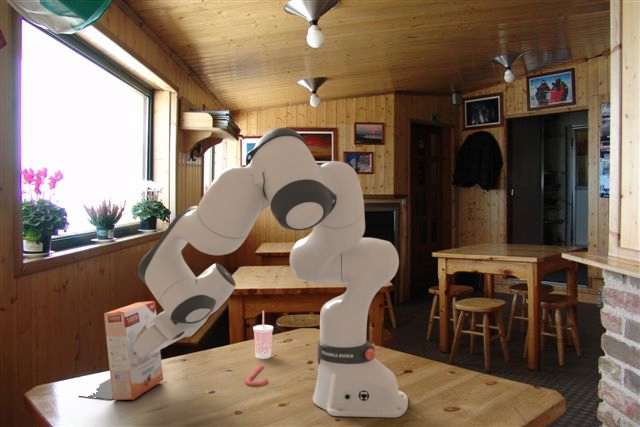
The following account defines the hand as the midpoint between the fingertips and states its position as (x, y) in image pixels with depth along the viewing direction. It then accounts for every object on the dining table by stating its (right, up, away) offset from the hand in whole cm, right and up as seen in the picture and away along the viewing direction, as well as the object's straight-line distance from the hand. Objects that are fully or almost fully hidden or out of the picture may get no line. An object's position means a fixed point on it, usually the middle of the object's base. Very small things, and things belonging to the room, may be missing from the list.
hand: (146, 355), depth 123 cm
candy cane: (+26, -10, +13) cm, 31 cm away
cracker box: (-2, -9, +1) cm, 9 cm away
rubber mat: (-10, -9, +3) cm, 14 cm away
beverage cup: (+25, -9, +30) cm, 40 cm away
